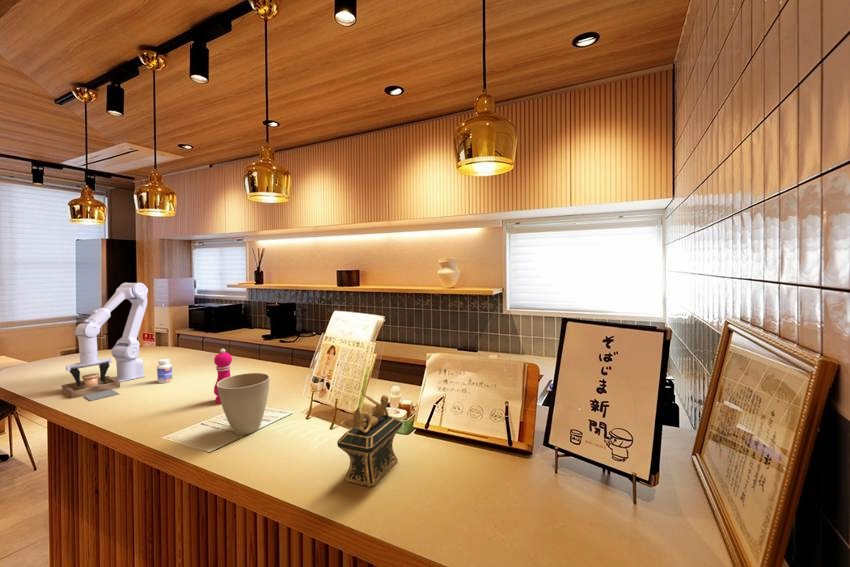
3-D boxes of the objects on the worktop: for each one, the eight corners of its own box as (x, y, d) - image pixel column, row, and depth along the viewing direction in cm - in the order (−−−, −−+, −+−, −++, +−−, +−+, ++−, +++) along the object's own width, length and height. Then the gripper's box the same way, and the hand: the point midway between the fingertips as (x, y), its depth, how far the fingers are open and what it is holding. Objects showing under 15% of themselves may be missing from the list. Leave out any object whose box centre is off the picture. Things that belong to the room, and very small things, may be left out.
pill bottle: (167, 383, 168) (165, 361, 167) (154, 383, 168) (153, 361, 167) (175, 379, 173) (174, 358, 173) (163, 379, 173) (162, 358, 173)
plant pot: (235, 419, 128) (233, 372, 127) (279, 419, 127) (277, 372, 126) (208, 441, 113) (205, 388, 112) (258, 441, 112) (256, 387, 111)
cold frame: (108, 381, 172) (107, 375, 172) (120, 387, 163) (119, 381, 163) (62, 391, 160) (61, 385, 160) (71, 398, 151) (71, 392, 151)
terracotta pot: (97, 386, 165) (96, 372, 165) (101, 388, 162) (100, 374, 162) (81, 389, 161) (80, 375, 161) (85, 392, 158) (84, 377, 158)
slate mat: (111, 390, 160) (111, 389, 160) (119, 394, 155) (119, 393, 155) (83, 396, 153) (83, 395, 153) (90, 401, 147) (90, 400, 147)
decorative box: (372, 450, 105) (371, 380, 104) (404, 457, 102) (402, 384, 100) (326, 491, 87) (324, 406, 86) (363, 501, 83) (360, 413, 82)
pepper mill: (240, 398, 147) (237, 347, 146) (223, 405, 141) (220, 351, 139) (227, 396, 150) (224, 345, 149) (210, 402, 144) (207, 350, 142)
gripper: (107, 347, 169) (109, 377, 170) (62, 353, 157) (65, 386, 158) (112, 349, 165) (114, 380, 165) (67, 356, 153) (69, 389, 154)
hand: (90, 383), depth 161 cm, fingers open, 7 cm apart
